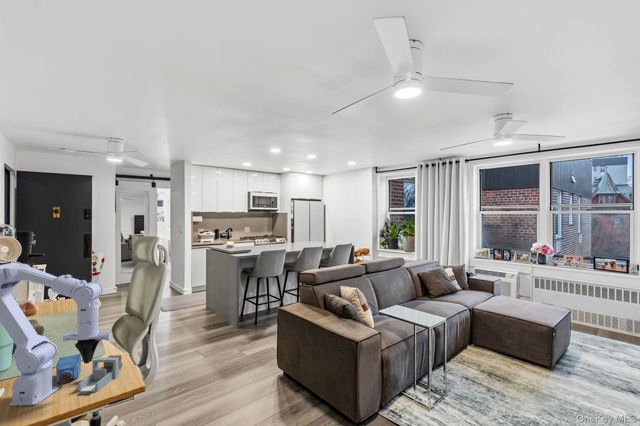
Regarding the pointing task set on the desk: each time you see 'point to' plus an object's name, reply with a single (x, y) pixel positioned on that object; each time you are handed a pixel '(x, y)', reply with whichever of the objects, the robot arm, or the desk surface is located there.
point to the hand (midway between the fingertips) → (88, 362)
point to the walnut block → (110, 364)
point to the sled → (101, 373)
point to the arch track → (89, 386)
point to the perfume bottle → (68, 368)
